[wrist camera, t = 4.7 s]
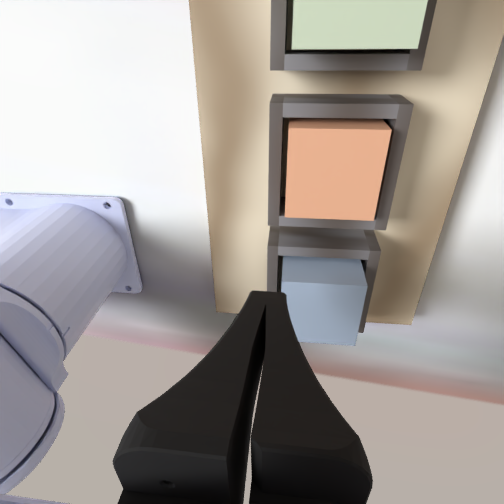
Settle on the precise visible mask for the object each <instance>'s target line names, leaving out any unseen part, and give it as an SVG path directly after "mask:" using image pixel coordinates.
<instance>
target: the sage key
mask: <svg viewBox="0 0 504 504" xmlns="http://www.w3.org/2000/svg"><path fill="white" fill-rule="evenodd" d="M427 2H428V0H294V5H293V28H292V49H418V45H419V40H420V35H421V30H422V26H423V21H424V16H425V11H426V7H427Z"/></svg>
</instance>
